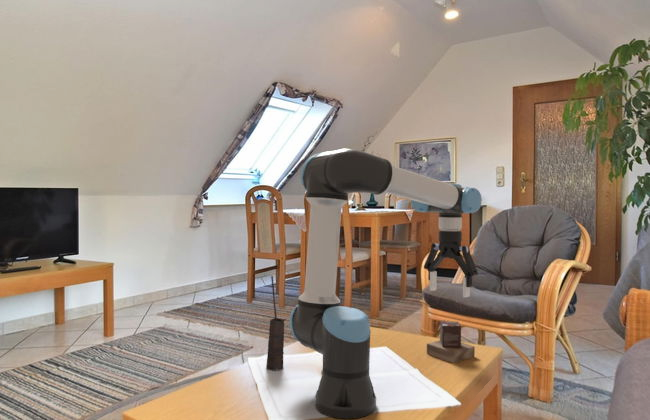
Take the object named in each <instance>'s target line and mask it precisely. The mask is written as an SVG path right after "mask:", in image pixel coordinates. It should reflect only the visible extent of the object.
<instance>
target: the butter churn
mask: <svg viewBox="0 0 650 420" xmlns="http://www.w3.org/2000/svg"><path fill="white" fill-rule="evenodd" d="M270 279H271V286H272V287H271V288H272V298H273V301H272V302H273V310H274V311H273V312H274V318H272V319H271V318H270V320H269V321H270V322H269V329H268V330H269V331H268V332H269V333H268V340H267V341H268V344H267V357H266V366H265V367H266V369H267V370H269V371H280V370H282V369H284V353H285V352H284V346H285V345H284V343H285V322H284V321H286V320H287V319H286V318H284V319H282V318H278V316H277V307H276V299H275V297H276V296H275V287H274V286H275V285H274V277H273V275H271V278H270Z"/></svg>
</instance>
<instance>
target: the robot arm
mask: <svg viewBox="0 0 650 420" xmlns="http://www.w3.org/2000/svg"><path fill="white" fill-rule="evenodd" d="M300 182H301V185H302V186H303V188H304V190H306V191H305V194H306V195H305V199H306V201H307V202H308V203H309V205H310V210H309V211H310V213H309V223H308V224H309V228H308V239H307V249H306V250H307V251H306V264H305V278H304V279H305V280H304V290H303V293H302V294H300V295H299V296H298V298H297V305H295V307H294V308H293V309H292V311H291V312H290V316H289V321H288V324H289V330H290V333H291V335H292V336H293V338H294V339H295V340H296V341H297V342H299V343H300V344H301V345H303V346H304V347H306V348H309V349H311V350H313V351H315V352H317V353H319V354H321V355H322V375H321V378H320V381H319V384H318V388H317V390H316V393H315V398H314V399H315V401H314V402H315V403H314V404H315V408H316V409H317V410H318V411H319V412H320V413H321V414H324V415H326V416H329V417H331V418H337V419H351V420H352V419H358V418H363V417H366V416H369V415H371V414H373V413H374V412H375V411H376V408H377V397H376V393H375V390H374V386H373V383H372V379H371V376H370V361H371V360H370V356H371V355H370V353H371V352H370V351H371V332H372V331H371V327H370V326H371V325H370V319H369V316H368V315H367V314H366V313H365V312H364V311H362V310H361V309H359V308H355V307H348V306H343V305H342V306H341V300H340V298H339V297H338V296H337V294H336V288H337V275H338V262H339V261H338V259H339V250H340V249H339V248H340V247H339V246H340V237H341V236H340V233H341V222H342V221H341V219H342V208H343V207H344V206H345V205H346V204H347V203H348V200H349V194H353V193H354V194H355V193H366V194H373V195H377V196H380V195H383V194H387V195H391V196H395V197H398V198H403V199H406V200H409V201H410V206H411V207H412V209H413V210H414V211H415V212H418V213H438V229H439V231H438V242H439V243H438V242H436V243H435V242H434V243H431V247H430V251H429V254H428V256H427V258H426V261H425V263H424V266H423V269H425V270H426V271H428V272H427V273H428V281H429V291H432V292H433V291H437V288H438V287H437V281H438V280H437V279H438V278H437V277H438V276H437V275H438V273H437V268H438V266H440V265H441V263H442V261H444V259H446V258H447V259H452V260H454V261H455V262H456V264H457V265H458V266H459V268H460V270H461V271H462V273H463V274H464V276H463V277H462V297H463V298H468V297H471V288H472V287H473V277H475V276H478V275H479V272H478V270H477V267H476V265H475V262H474V259H473V257H472V255H471V248H470V245H461V243H462V241H463V238H462V237H463V232H462V231H461V230H462V229H463V214H473V213H476V212H478V211H479V210H480V209H481V207H482V198H483V197H482V195H481V192H480V190H479V189H477V188H475V187H469V186H466V187H463V186H462V185H461V184H460V183H448V182H445V181H441V180H437V179H435V178H432V177H429V176H426V175H424V174H419V173H417V172H414V171H411V170H408V169H404V168H401V167H398V166H395V165H393V163H392V162H391V161H390V160H389V159H386V158H383V157H380V156H377V155H374V154H371V153H368V152H366V151H362V150H358V149H352V148H341V149H337V150H330V151H322V152H321V151H320V152H319V153H315V154H313V155H311V156H310V157H309V158H308V159H306V160H305V162H303V165H302V167H301V171H300ZM461 253H462V254H461Z"/></svg>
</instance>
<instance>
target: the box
mask: <svg viewBox="0 0 650 420" xmlns="http://www.w3.org/2000/svg"><path fill="white" fill-rule="evenodd" d="M439 326H440V327H439V330H440V332H439V341H440V342H441V344H442V347H458V348H461V343H462V325H461V324H460V323H459V321H454V320H452V321H447V320H440V323H439Z"/></svg>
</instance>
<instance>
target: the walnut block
mask: <svg viewBox="0 0 650 420" xmlns="http://www.w3.org/2000/svg"><path fill="white" fill-rule="evenodd" d="M475 350H476V349H475V346H474V345H471V344H467V343H464V342H461V348H458V347H442V344H441V342H440V340H437V341H433V342H428V343H426V354H427V355H429V356H432V357H435V358H438V359H441V360H443V361H446V362H449V363H452V364H454V363H458V362H461V361H465V360H468V359H471V358H475V353H476V352H475Z"/></svg>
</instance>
